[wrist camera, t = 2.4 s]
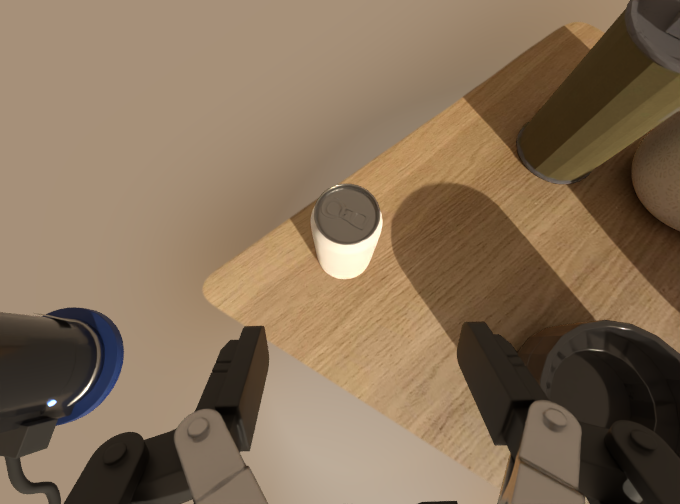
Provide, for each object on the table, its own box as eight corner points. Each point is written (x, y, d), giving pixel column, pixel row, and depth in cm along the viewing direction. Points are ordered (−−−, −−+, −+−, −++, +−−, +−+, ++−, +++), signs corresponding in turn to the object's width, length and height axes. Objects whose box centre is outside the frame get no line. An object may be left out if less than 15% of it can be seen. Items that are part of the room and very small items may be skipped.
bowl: (661, 494, 31) (734, 526, 25) (505, 467, 32) (543, 493, 26) (642, 336, 36) (700, 334, 30) (506, 315, 36) (538, 309, 30)
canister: (572, 199, 41) (782, 66, 21) (501, 154, 42) (637, -5, 23) (608, 143, 43) (827, -21, 24) (540, 103, 45) (692, -79, 26)
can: (332, 220, 39) (330, 167, 28) (379, 242, 39) (397, 197, 27) (307, 265, 38) (294, 229, 26) (356, 289, 37) (365, 262, 25)
